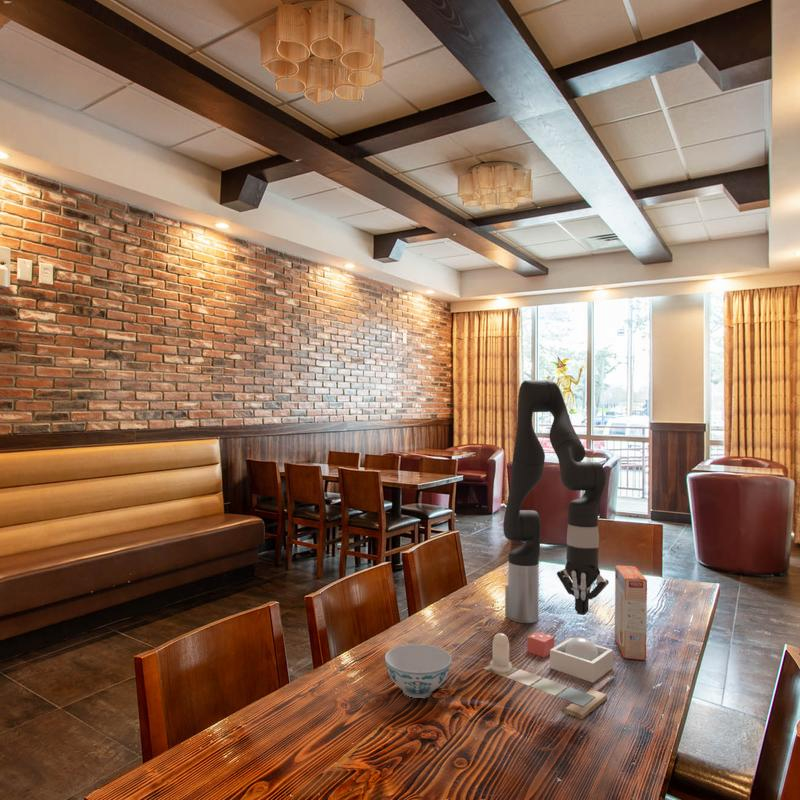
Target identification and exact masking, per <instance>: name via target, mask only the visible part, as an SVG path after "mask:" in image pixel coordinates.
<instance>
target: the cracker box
mask: <svg viewBox="0 0 800 800" xmlns="http://www.w3.org/2000/svg"><path fill="white" fill-rule="evenodd" d="M614 567H615V568H614V569H615V572H614V573H615V574H614V578H615V579H614V581H615V582H614V583H615V584H614V585H615V586H614V587H615V588H614V590H615V591H614V640H615V642H616V644H617V647H618V648H619V649H618V650H619V652H621V655H622V657H623V659H627V660H637V661H638V660H639V661H647V619H648V618H647V616H648V615H647V611H648V610H647V607H648V605H647V601H648V580H647V579H646V578H645V576H644V575H643V574H642V572H640V570H639V569H638V568H637V567H636V566H634V565H633V566H632V565H618V564H617V565H615V566H614Z"/></svg>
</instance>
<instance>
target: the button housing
mask: <svg viewBox="0 0 800 800" xmlns="http://www.w3.org/2000/svg"><path fill="white" fill-rule="evenodd" d="M572 639H574V637H570V638H568V639H566V640H564V641H562V642H561V643H559V644H558V645H556V646H554V648H552V649H551V650H550V654H549V668H550V669H553V670H554V671H555V670H556V671H558V672H561V673H564V674H567V675H570V676H573V677H576V678H578V679H580V680H584V681H587V682H591V683H595V682H596V681H597V683H596V684H594V685H593V686H592V688H596V687H597V686H598V685H599V684H600V683H602V681H604V680H606V678H608V677H609V676H611V675H612V674H613V673H614V671H611V670H612V669H614V649H611V648H608V647H604V646H601V645H598V644H595V643H593V644H594V645H595V647H596V648H597V650H598V654H599V656H598V657H597V658H595V659H594V660H592V661H589V660H586V659H583V658H579V657H576V656H573V655H570V654H567V653H565V648H566V645H567V644H568V642H569V641H571V640H572ZM609 671H611V672H610V673H609V674H607V673H608V672H609ZM605 674H607V675H606V676H604V675H605ZM603 676H604V677H603ZM601 677H603V678H602V679H601V680H600V681H598V680H599V679H600V678H601Z"/></svg>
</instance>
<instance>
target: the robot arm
mask: <svg viewBox="0 0 800 800" xmlns="http://www.w3.org/2000/svg"><path fill="white" fill-rule="evenodd" d="M548 412H549V413H550V414H551V416H553V421H552V424H551V427H550V430H549V442H550V445H551V447H552V449H553V451H554V453H555V455H556V457H557V460H558V464H559V471H560V472H559V473H560V480H561V483H562V485H563V486H564V487H565V488H566V489H568V490H569V491H574V492H575V491H576V492H577V491H578V492H579V491H584V492H583V495H581V497H579V498H577V499H572V500H571V501H569V503H568V506H567V529H566V564H565V566H564V568H563V569H562V570H560V571H557V572H556V575H557V578H558V579H559V581H560V582H561V584H562V585H563V587H564V589H565V590H566V592H567V593H568V595H571V596H573V597H574V609H575V612H576V614H577V615H580V616H584V615H586V614H587V613H588V612H589V609H590V607H589V603H590V602H589V600H590V601H591V600H593V599H595V598H597V596H599V594H600V593H601V592H603V590H604V589H605V588H606V587H607V586H608V585H609V583H610V582H609V580H608V579H605V578H604V577H603V576H602V575H601V570H600V568H599V563H600V562H599V559H600V558H599V554H600V551H599V550H600V547H599V545H600V533H599V507H600V505H601V500H602V497H603V493H604V489H605V487H606V483H607V473H606V470H605V468H604V465H602V464H601V463H600V462H597V461H583V460H584V459H585V457H586V450H585V447H584V445H583V443H582V441H581V439H580V438H579V436H578V434H577V432H576V431H575V429H574V427H573V424H572V422H571V419H570V415H569V412H568V409H567V405H566V402H565V399H564V396H563V393H562V391H561V388H560V386H559V385H558V384H557V383H556V382H555V381H553V380H548V379H539V380H538V379H536V380H535V379H533V380H531V379H530V380H528V379H527V380H523V381H522V382H521V384H520V386H519V390H518V396H517V416H516V422H517V423H516V431H515V432H516V434H515V443H514V449H513V455H512V464H511V473H510V474H511V475H510V485H509V490H508V497H507V501H506V506H505V510H504V516H503V526H502V527H503V528H502V529H503V535H504V537H505V538H506V539H507V540H508V541H517V542H518V541H525V542H524V543H523V544H522V545H521V546H519V547H518V548H514V549H512V550H511V551H509V553H508V555H507V556H508V557H507V558H508V559H507V561H508V566H507V567H508V568H507V569H508V570H507V571H508V575H507V577H508V580H507V585H505V593H504V594H505V595H504V596H505V597H504V598H505V600H504V602H505V603H504V604H505V605H504V607H505V609H504V610H505V611H504V617H505V616H506V617H505V618H508V620H510V621H512V622H515V623H519V624H533V623H536V622H538V621H539V613H540V612H539V608H540V607H539V606H540V605H539V603H540V602H539V601H540V600H539V599H540V598H539V593H540V591H539V586H540V584H539V583H540V578H539V577H540V575H539V574H540V573H539V571H540V569H539V568H540V566H539V564H540V563H539V562H540V553H541V533H542V521H541V517H540V513H538V512H537V510H533V509H521V507H522V505H523V503H524V501H525V499H526V498H527V496H528V495H529V494H530V493H531V492H532V490H534V488H535V487H536V486H537V484H538V483H539V482H540V480H541V479H542V477H543V474H544V467H545V462H546V459H545V457H546V454H545V450H544V448H543V447H544V446H542V443H541V442H540V439H539V438H538V437H537V435H536V433H535V430H534V429H535V428H534V427H533V414H534V413H548ZM595 581H596V582H595ZM594 583H595V585H596V586H595V587H594V588H593V589H592V585H593V584H594Z"/></svg>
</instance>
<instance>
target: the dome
mask: <svg viewBox="0 0 800 800" xmlns="http://www.w3.org/2000/svg"><path fill="white" fill-rule="evenodd" d="M573 638H574V637H573ZM594 644H595V643H593V642H592V641H591V640H589V639H588V638H585V637H579V636H578V637H575V638H574V639H572V640H571V641H569V642H568V644H567V645H566V648H565V653H567V654H570V655H573V656H576V657H579V658H583V659H586V660H589V661H592V660H594V659H595V658H597V657H598V656H599V654H598V650H597V648H596V647H595V645H596V644H595V645H594Z"/></svg>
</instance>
